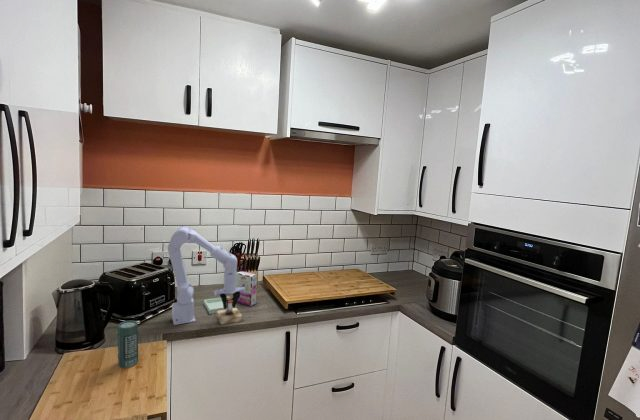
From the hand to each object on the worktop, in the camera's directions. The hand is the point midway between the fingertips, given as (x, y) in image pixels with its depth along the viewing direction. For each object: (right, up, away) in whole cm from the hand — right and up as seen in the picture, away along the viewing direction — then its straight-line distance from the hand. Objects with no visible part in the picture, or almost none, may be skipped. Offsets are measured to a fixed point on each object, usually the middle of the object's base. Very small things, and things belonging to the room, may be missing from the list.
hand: (229, 307), depth 165 cm
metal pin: (0, -3, 0) cm, 3 cm away
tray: (-8, -3, +12) cm, 15 cm away
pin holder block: (0, -5, +1) cm, 5 cm away
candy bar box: (+3, -3, +20) cm, 21 cm away
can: (-26, -9, -40) cm, 49 cm away
